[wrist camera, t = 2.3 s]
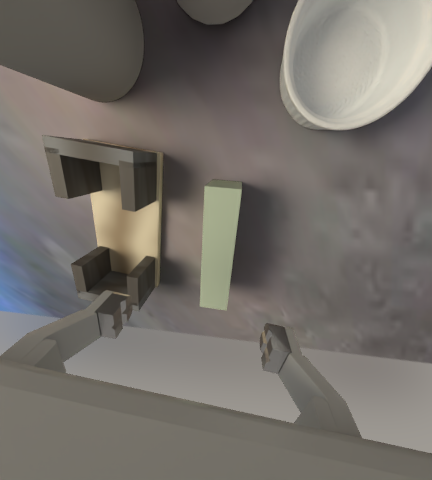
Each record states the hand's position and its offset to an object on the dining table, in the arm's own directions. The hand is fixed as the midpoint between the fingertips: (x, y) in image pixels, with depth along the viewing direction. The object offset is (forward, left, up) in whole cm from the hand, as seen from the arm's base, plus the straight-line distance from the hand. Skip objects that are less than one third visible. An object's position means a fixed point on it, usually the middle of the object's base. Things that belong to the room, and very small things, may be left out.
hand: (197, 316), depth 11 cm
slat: (0, 0, -12) cm, 12 cm away
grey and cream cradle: (+11, 0, -12) cm, 16 cm away
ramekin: (-6, -16, -12) cm, 21 cm away
